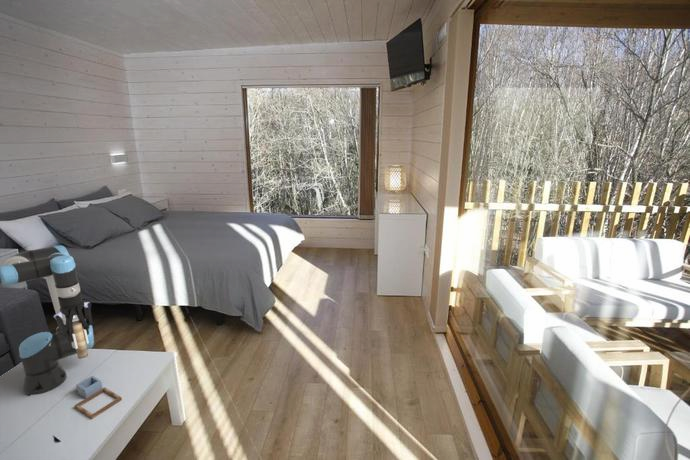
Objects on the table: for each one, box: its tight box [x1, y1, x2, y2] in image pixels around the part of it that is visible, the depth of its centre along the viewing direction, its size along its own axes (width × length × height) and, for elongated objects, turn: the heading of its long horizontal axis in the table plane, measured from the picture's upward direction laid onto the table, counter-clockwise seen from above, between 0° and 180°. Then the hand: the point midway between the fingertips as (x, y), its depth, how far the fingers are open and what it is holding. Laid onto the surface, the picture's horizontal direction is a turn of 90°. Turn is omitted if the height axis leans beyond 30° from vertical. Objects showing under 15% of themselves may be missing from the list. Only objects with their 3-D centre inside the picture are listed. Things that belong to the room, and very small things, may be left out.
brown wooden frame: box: [74, 387, 123, 420], centre depth 156 cm, size 12×12×2 cm
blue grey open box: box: [76, 375, 104, 399], centre depth 162 cm, size 7×7×5 cm
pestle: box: [72, 322, 89, 360], centre depth 155 cm, size 4×4×15 cm
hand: (80, 344), depth 156 cm, fingers closed on pestle, 3 cm apart
